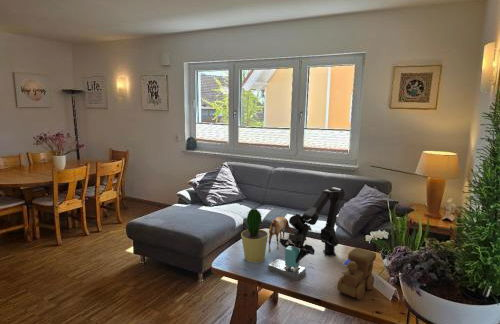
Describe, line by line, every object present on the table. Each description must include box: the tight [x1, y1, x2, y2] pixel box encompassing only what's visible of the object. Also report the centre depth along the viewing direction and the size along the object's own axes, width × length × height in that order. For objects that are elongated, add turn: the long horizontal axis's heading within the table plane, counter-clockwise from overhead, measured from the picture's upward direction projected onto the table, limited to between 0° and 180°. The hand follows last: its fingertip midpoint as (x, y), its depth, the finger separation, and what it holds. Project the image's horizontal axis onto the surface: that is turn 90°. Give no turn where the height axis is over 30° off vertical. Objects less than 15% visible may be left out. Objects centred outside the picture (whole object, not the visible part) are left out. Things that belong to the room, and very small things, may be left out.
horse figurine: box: [268, 216, 293, 253], centre depth 197 cm, size 31×8×21 cm, turn 152°
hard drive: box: [342, 258, 350, 268], centre depth 174 cm, size 2×8×12 cm
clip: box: [284, 246, 300, 272], centre depth 163 cm, size 4×6×13 cm, turn 52°
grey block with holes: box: [267, 258, 307, 281], centre depth 166 cm, size 9×18×3 cm, turn 52°
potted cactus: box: [240, 208, 269, 263], centre depth 179 cm, size 15×15×30 cm
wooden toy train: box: [336, 247, 377, 300], centre depth 147 cm, size 20×11×17 cm, turn 137°
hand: (290, 261), depth 162 cm, fingers closed on clip, 6 cm apart
